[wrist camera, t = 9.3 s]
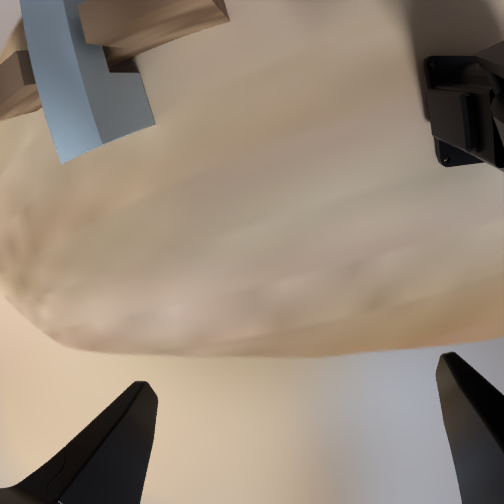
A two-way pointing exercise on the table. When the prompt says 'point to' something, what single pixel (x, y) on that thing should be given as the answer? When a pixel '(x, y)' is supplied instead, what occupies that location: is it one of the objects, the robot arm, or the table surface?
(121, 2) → the notched wooden post
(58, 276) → the table surface
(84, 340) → the table surface
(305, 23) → the table surface
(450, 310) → the table surface
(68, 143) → the notched blue slab
